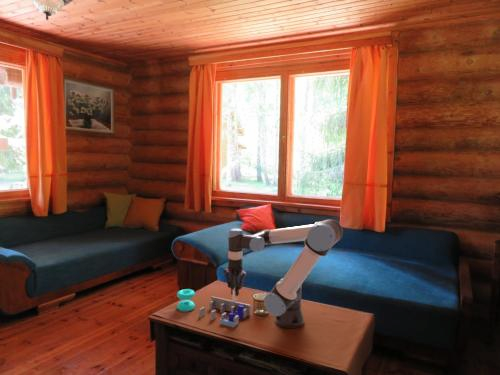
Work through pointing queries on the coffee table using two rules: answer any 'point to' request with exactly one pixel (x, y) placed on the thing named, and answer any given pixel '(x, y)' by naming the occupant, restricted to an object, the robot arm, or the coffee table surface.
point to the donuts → (186, 304)
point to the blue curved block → (237, 313)
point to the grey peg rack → (227, 306)
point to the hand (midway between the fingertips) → (234, 300)
